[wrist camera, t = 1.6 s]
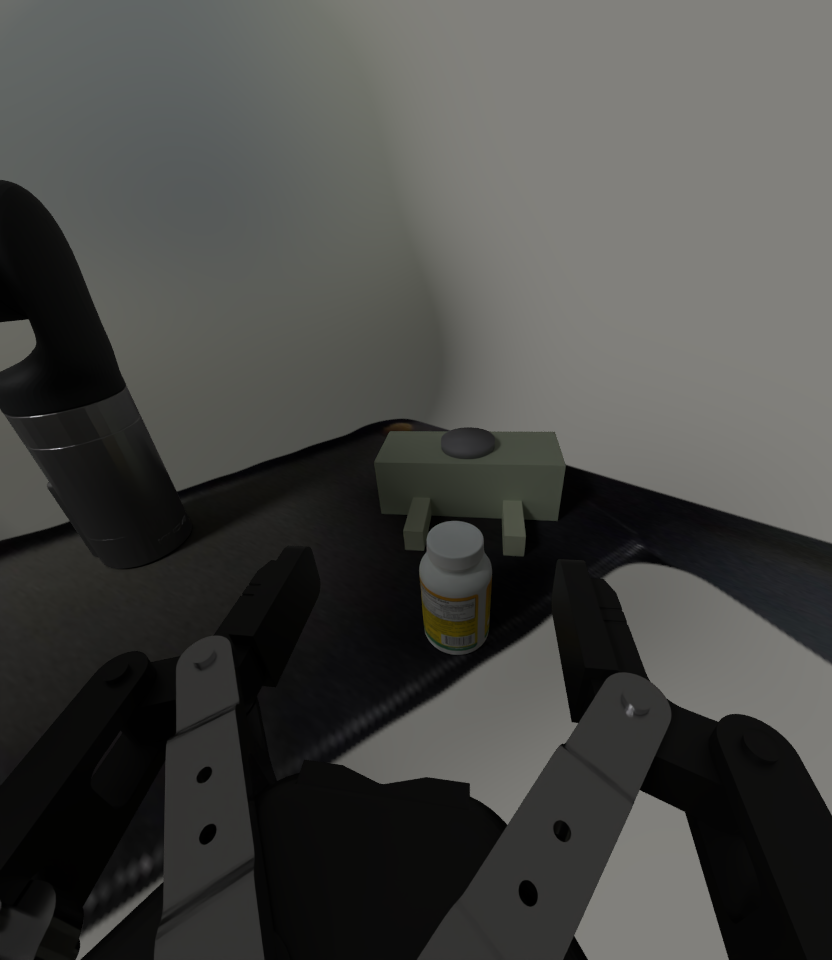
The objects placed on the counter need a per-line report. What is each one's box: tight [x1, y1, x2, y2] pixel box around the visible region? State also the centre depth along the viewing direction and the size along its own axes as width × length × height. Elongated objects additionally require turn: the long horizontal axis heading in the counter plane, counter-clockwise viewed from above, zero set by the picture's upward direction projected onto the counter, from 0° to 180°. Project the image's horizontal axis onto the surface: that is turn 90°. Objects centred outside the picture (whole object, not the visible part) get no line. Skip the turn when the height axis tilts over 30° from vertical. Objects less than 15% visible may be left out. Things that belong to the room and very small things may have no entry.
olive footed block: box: [374, 428, 566, 556], centre depth 43 cm, size 20×14×8 cm
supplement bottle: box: [419, 521, 492, 655], centre depth 30 cm, size 5×5×10 cm
